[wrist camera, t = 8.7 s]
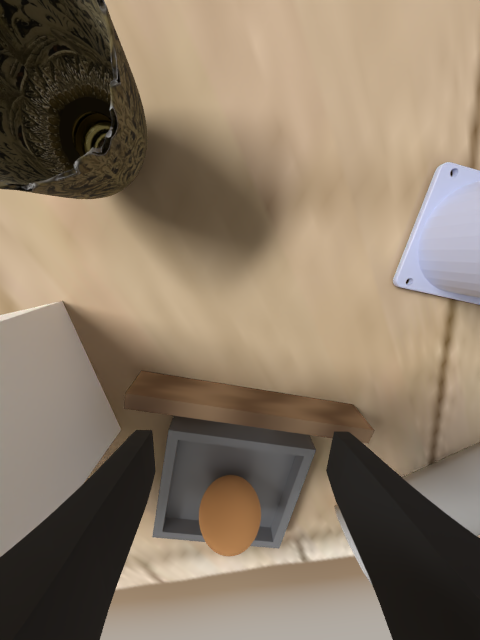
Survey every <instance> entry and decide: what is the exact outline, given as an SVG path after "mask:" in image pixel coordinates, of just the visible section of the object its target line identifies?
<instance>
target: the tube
mask: <svg viewBox="0 0 480 640" xmlns="http://www.w3.org/2000/svg"><path fill="white" fill-rule="evenodd" d="M402 478H403V479H404V480H405V481H406V482H408V483H409V484H410V485H411V486H412V487H414V488H415V489H416V490H417V491H419V492H420V493H421V494H422V495H423V496H425V497H426V498H427V499H428V500H430V501H431V502H432V503H433V504H435V505H436V506H437V507H439V508H440V509H441V510H442V511H444V512H445V513H446V514H447V515H449V516H450V517H451V518H453V519H454V520H455V521H457V522H458V523H459V524H461V525H462V526H463V527H465V528H466V529H468V530H469V531H470V532H472V533H473V534H474V535H476V536H478V535H480V442H479V443H477V444H475V445H472V446H470V447H468V448H466V449H464V450H461V451H459V452H457V453H455V454H453V455H450V456H448V457H446V458H444V459H442V460H439V461H437V462H435V463H433V464H431V465H428V466H426V467H424V468H422V469H420V470H417V471H415V472H413V473H411V474H409V475H406V476H404V477H402ZM335 511H336V514H337V517H338V520H339V522H340V525H341V527H342V529H343V532H344V534H345V537H346V539H347V541H348V544H349V545H350V547H351V549H352V551H353V553H354V555H355V557H356V559H357V561H358V563H359V565H360V567H361V569H362V571H363V572H364V574H365V575H366V577H367V578H368V580H369V581H370V583H371V580H370V578H369V575H368V573H367V571H366V569H365V566H364V564H363V562H362V560H361V557H360V555H359V553H358V550H357V548H356V546H355V544H354V541H353V539H352V537H351V534H350V532H349V530H348V528H347V525H346V523H345V521H344V518H343V516H342V514H341V511H340V509H339V507H338V505H336V506H335ZM371 584H372V583H371Z"/></svg>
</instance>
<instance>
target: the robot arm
mask: <svg viewBox="0 0 480 640" xmlns="http://www.w3.org/2000/svg"><path fill="white" fill-rule="evenodd" d="M451 171H452V173H453V175H452V177H451V175H450V172H451ZM407 279H409V282H408V284H406V281H407ZM393 284H394V285H395V286H397V287H401V288H406V289H410V290H415V291H419V292H424V293H428V294H433V295H437V296H442V297H447V298H451V299H456V300H460V301H465V302H469V303H474V304H478V305H480V171H479V170H476V169H472V168H469V167H465V166H462V165H458V164H455V163H451V162H446V163H444V164H441V165H440V166H438V167H437V169H436V171H435V173H434V176H433V179H432V181H431V184H430V186H429V189H428V191H427V194H426V196H425V199H424V202H423V204H422V207H421V209H420V212H419V214H418V217H417V219H416V222H415V225H414V227H413V230H412V232H411V235H410V237H409V240H408V242H407V245H406V248H405V250H404V253H403V255H402V258H401V260H400V263H399V266H398V268H397V271H396V273H395V276H394V278H393ZM326 471H327V474H328V478H329V481H330V484H331V487H332V490H333V493H334V496H335V499H336V502H337V504H338V507H339V509H340V511H341V514H342V516H343V518H344V521H345V523H346V525H347V528H348V530H349V532H350V534H351V537H352V539H353V541H354V544H355V546H356V548H357V550H358V553H359V555H360V557H361V560H362V562H363V564H364V566H365V569H366V571H367V573H368V575H369V578H370V580H371V583H372V585H373V587H374V590H375V592H376V595H377V597H378V600H379V602H380V605H381V608H382V611H383V614H384V616H385V619H386V622H387V625H388V628H389V630H390V633H391V636H392V639H393V640H480V538H479V537H477V536H476V535H474V534H473V533H472V532H470V531H469V530H468V529H466V528H465V527H463V526H462V525H461V524H459V523H458V522H457V521H455V520H454V519H453V518H451V517H450V516H449V515H447V514H446V513H445V512H444V511H442V510H441V509H440V508H439V507H437V506H436V505H435V504H433V503H432V502H431V501H430V500H428V499H427V498H426V497H425V496H423V495H422V494H421V493H420V492H419V491H417V490H416V489H415V488H414V487H412V486H411V485H410V484H409V483H408V482H406V481H405V480H404V479H403V478H402V477H401V476H399V475H398V474H397V473H396V472H395V471H394V470H392V469H391V468H390V467H389V466H388V465H387V464H386V463H384V462H383V461H382V460H381V459H380V458H379V457H378V456H376V455H375V454H374V453H373V452H372V451H371V450H370V449H369V448H367V447H366V446H365V445H364V444H363V443H362V442H361V441H359V440H358V439H357V438H356V437H355V436H354V435H352V434H351V433H350V432H347V431H334V434H333V440H332V445H331V450H330V455H329V460H328V465H327V470H326ZM154 475H155V459H154V447H153V434H152V430H136V431H135V432H134V433H133V434H132V435H131V436H130V437H129V438H128V439H127V440H126V441H125V442H124V443H123V444H122V445H121V446H120V447H119V448H118V449H117V450H116V451H115V452H114V453H113V454H112V456H111V457H110V458H109V459H108V460H107V461H106V462H105V463H104V464H103V465H102V466H101V467H100V468H99V469H98V470H97V471H96V472H95V473H94V474H93V475H92V476H91V477H90V478H89V479H88V480H87V481H86V482H85V483H84V484H83V485H82V486H81V487H79V488H78V489H77V490H76V491H75V492H74V493H73V494H72V495H71V496H70V497H69V498H68V499H67V500H66V501H64V502H63V503H62V504H61V505H60V506H59V507H58V508H57V509H56V510H55V511H54V512H53V513H51V514H50V515H49V516H48V517H47V518H46V519H45V520H44V521H42V522H41V523H40V524H39V525H38V526H37V527H36V528H34V529H33V530H32V531H31V532H30V533H29V534H27V535H26V536H25V537H24V538H23V539H22V540H20V541H19V542H18V543H17V544H16V545H14V546H13V547H12V548H11V549H10V550H8V551H7V552H6V553H5V554H3V555H2V556H1V557H0V640H100V636H101V633H102V629H103V626H104V623H105V619H106V616H107V613H108V609H109V607H110V604H111V601H112V597H113V594H114V592H115V589H116V586H117V583H118V580H119V578H120V575H121V572H122V570H123V567H124V564H125V562H126V559H127V556H128V553H129V551H130V548H131V545H132V543H133V540H134V537H135V535H136V532H137V529H138V526H139V524H140V521H141V518H142V515H143V513H144V510H145V507H146V504H147V501H148V498H149V494H150V490H151V487H152V483H153V479H154Z"/></svg>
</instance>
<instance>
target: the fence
mask: <svg viewBox="0 0 480 640" xmlns="http://www.w3.org/2000/svg"><path fill="white" fill-rule="evenodd" d="M124 409H131V410H138V411H145V412H152V413H159V414H166V415H173V416H180V417H187V418H194V419H201V420H208V421H215V422H222V423H229V424H236V425H243V426H250V427H257V428H264V429H271V430H278V431H285V432H292V433H299V434H306V435H313V436H320V437H327V438H333V434H334V431H347V432H350V433H351V434H352V435H354V436H355V437H356V438H357V439H358V440H359V441H361V442H362V443H369V441H370V439H371V437H372V435H373V432H374V430H373V428H372V427H371V426H370V425H369V423H368V422H367V421H366V420H365V418H364V417H363V416H362V415H361V414H360V412H359V411H358V410H357V409H356V407H355V406H354V405H352V404H346V403H339V402H333V401H327V400H321V399H314V398H308V397H302V396H296V395H289V394H283V393H277V392H271V391H264V390H258V389H252V388H246V387H239V386H233V385H227V384H221V383H214V382H208V381H202V380H196V379H189V378H183V377H177V376H171V375H164V374H158V373H152V372H146V371H141V372H140V374H139V375H138V376H137V378H136V379H135V381H134V382H133V383H132V385H131V386H130V387H129V389H128V390H127V391H126V393H125V401H124Z"/></svg>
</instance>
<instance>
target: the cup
mask: <svg viewBox="0 0 480 640" xmlns="http://www.w3.org/2000/svg"><path fill="white" fill-rule="evenodd" d="M103 139H105V140H104V144H103V146H102V147H101V148H98V147H99V144H100V142H101V141H102V140H103ZM146 146H147V128H146V120H145V114H144V109H143V106H142V102H141V98H140V95H139V92H138V89H137V86H136V83H135V80H134V77H133V75H132V72H131V69H130V67H129V64H128V61H127V59H126V56H125V53H124V51H123V48H122V46H121V43H120V41H119V38H118V36H117V33H116V30H115V28H114V25H113V23H112V20H111V18H110V15H109V12H108V9H107V6H106V4H105V2H104V0H0V189H10V190H20V191H26V192H32V193H39V194H45V195H52V196H59V197H66V198H76V199H96V198H103V197H107V196H111V195H113V194H116V193H118V192H119V191H121V190H123V189H124V188H125V187H127V186H128V185H129V184H130V183H131V182H132V181H133V180H134V178H135V177H136V176H137V174H138V172H139V171H140V168H141V166H142V164H143V160H144V157H145V153H146Z"/></svg>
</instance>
